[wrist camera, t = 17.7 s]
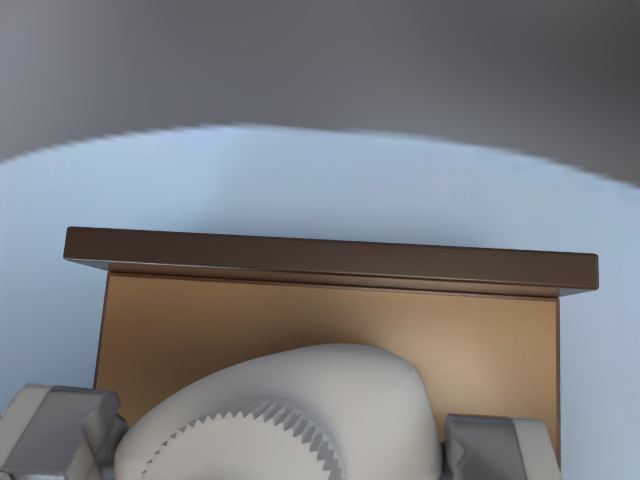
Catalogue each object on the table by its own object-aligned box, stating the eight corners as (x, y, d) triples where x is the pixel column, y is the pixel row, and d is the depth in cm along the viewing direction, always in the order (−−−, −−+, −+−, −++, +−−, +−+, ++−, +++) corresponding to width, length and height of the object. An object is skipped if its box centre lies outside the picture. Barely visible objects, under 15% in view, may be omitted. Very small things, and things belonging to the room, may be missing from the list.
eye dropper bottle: (386, 508, 16) (477, 1002, 4) (200, 455, 16) (-191, 758, 5) (419, 357, 17) (579, 408, 5) (239, 311, 17) (-16, 256, 5)
